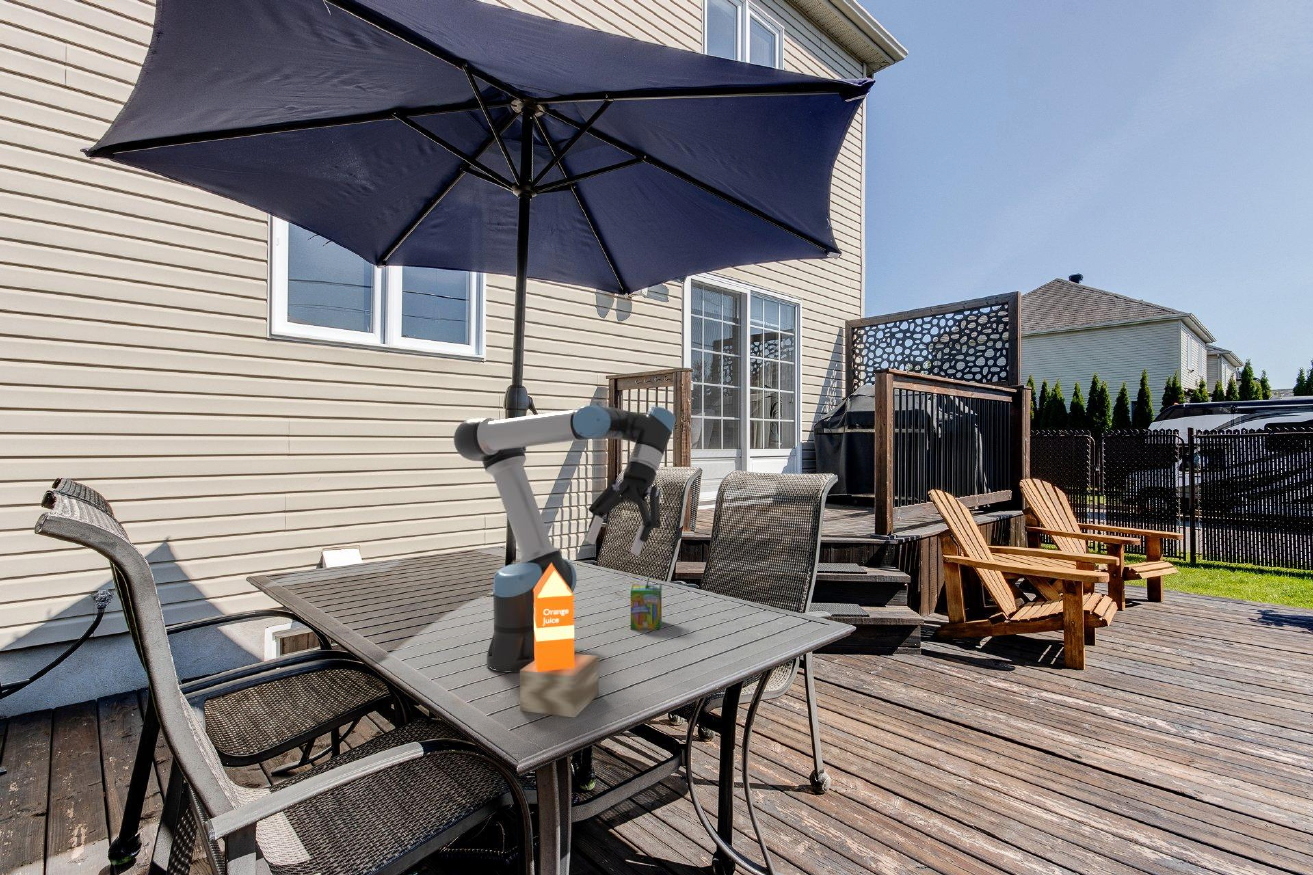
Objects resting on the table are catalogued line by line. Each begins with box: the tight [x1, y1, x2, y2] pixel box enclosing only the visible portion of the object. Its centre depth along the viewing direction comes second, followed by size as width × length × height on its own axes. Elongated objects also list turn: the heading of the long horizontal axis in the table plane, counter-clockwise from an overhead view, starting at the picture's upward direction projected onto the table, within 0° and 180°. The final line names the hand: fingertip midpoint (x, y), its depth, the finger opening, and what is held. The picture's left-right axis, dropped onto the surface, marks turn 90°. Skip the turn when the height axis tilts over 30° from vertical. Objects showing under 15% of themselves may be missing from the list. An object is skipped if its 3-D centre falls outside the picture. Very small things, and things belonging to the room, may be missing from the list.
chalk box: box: [630, 574, 663, 630], centre depth 178 cm, size 9×9×15 cm
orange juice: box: [533, 563, 575, 672], centre depth 125 cm, size 8×9×20 cm
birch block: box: [519, 653, 600, 718], centre depth 124 cm, size 12×12×8 cm
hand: (611, 548), depth 139 cm, fingers open, 13 cm apart
